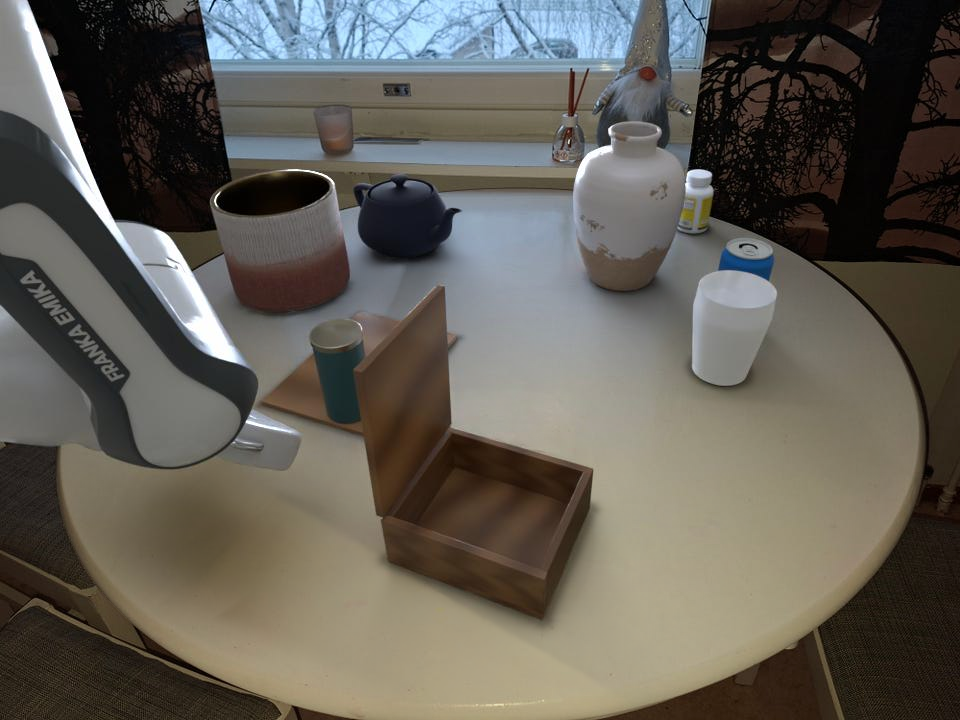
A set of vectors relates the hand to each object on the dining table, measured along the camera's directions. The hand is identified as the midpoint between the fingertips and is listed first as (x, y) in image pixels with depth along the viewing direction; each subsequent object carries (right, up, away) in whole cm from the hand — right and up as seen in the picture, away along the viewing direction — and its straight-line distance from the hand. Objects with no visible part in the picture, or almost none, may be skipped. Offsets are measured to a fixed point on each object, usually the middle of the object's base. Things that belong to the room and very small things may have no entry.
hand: (259, 422), depth 69 cm
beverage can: (+57, +11, +25) cm, 64 cm away
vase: (+44, +19, +37) cm, 61 cm away
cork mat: (+7, +5, +20) cm, 22 cm away
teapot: (+10, +26, +48) cm, 55 cm away
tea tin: (+7, 0, +13) cm, 14 cm away
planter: (-7, +18, +38) cm, 42 cm away
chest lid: (+17, +3, -8) cm, 19 cm away
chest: (+24, -11, -2) cm, 26 cm away
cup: (+53, +5, +17) cm, 56 cm away
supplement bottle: (+59, +29, +50) cm, 83 cm away
